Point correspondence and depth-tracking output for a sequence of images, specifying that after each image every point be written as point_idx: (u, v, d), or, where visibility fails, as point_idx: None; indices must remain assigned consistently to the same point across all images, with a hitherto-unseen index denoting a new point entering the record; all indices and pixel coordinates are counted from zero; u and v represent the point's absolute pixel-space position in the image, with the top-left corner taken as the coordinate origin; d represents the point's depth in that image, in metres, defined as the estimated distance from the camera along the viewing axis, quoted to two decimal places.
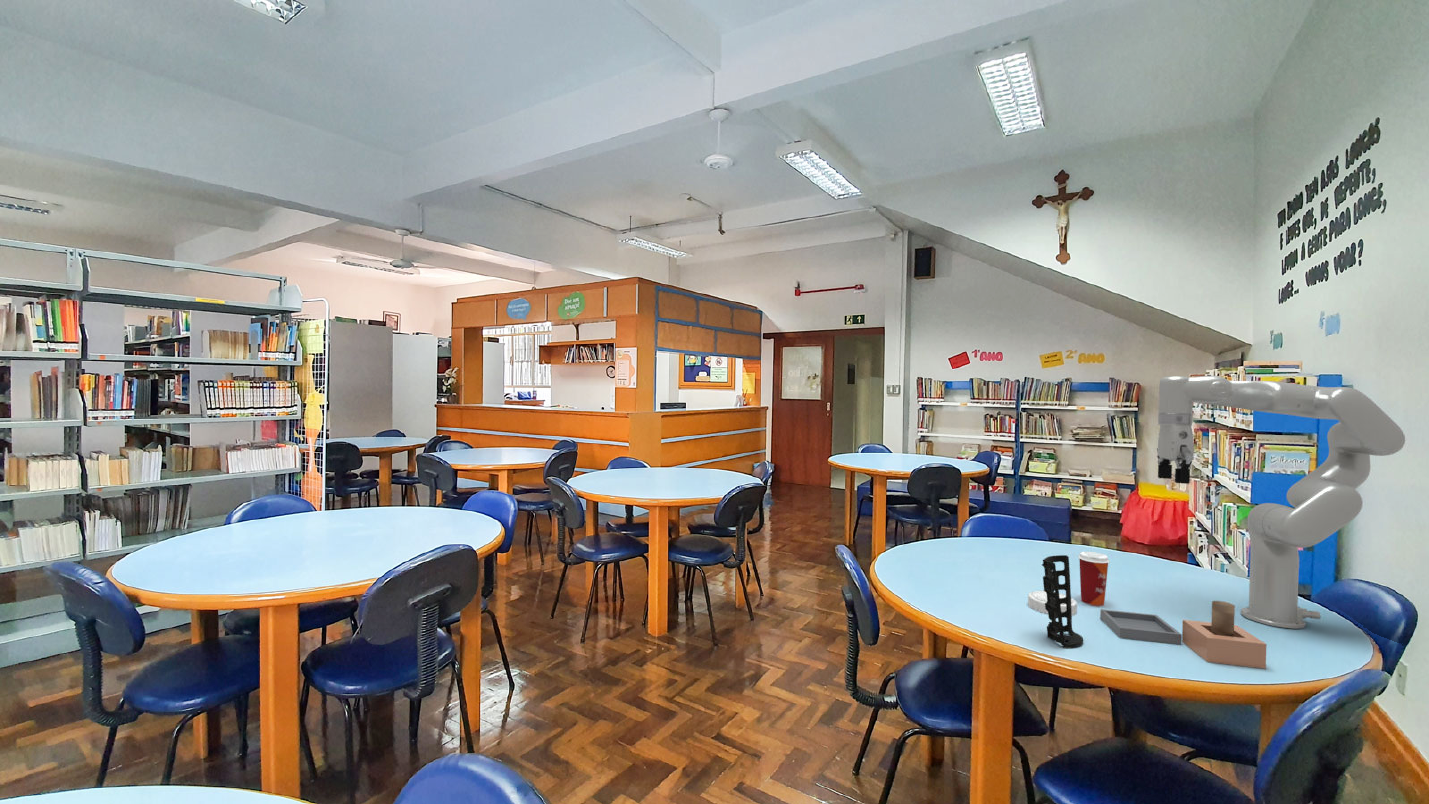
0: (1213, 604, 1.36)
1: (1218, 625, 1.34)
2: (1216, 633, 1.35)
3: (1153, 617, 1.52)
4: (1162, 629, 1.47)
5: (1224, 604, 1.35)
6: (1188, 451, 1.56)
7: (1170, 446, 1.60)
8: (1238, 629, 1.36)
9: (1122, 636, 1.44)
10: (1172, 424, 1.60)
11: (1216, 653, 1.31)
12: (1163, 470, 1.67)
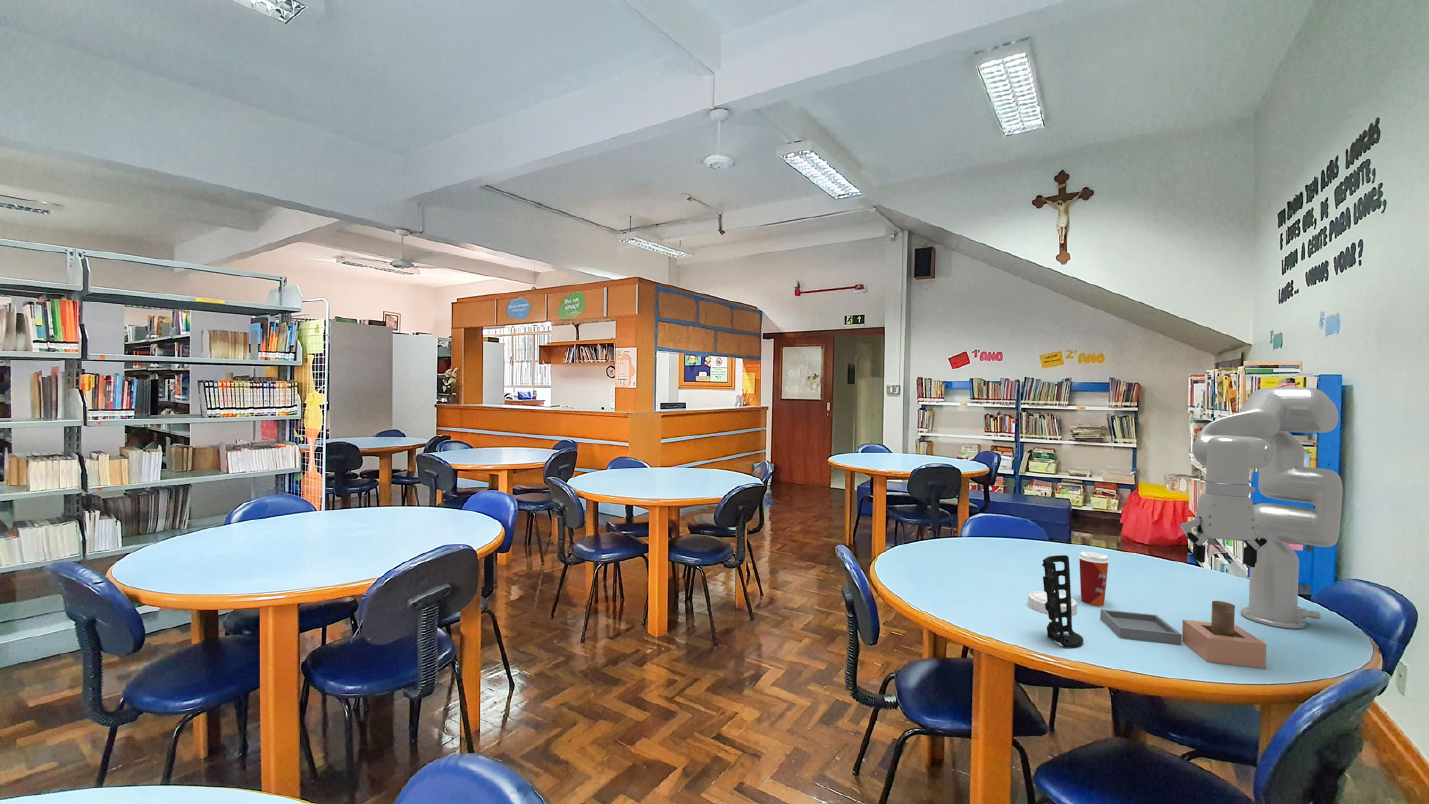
0: (1213, 604, 1.36)
1: (1218, 625, 1.34)
2: (1216, 633, 1.35)
3: (1153, 617, 1.52)
4: (1162, 629, 1.47)
5: (1224, 604, 1.35)
6: (1263, 527, 1.33)
7: (1248, 524, 1.32)
8: (1238, 629, 1.36)
9: (1122, 636, 1.44)
10: None
11: (1216, 653, 1.31)
12: None
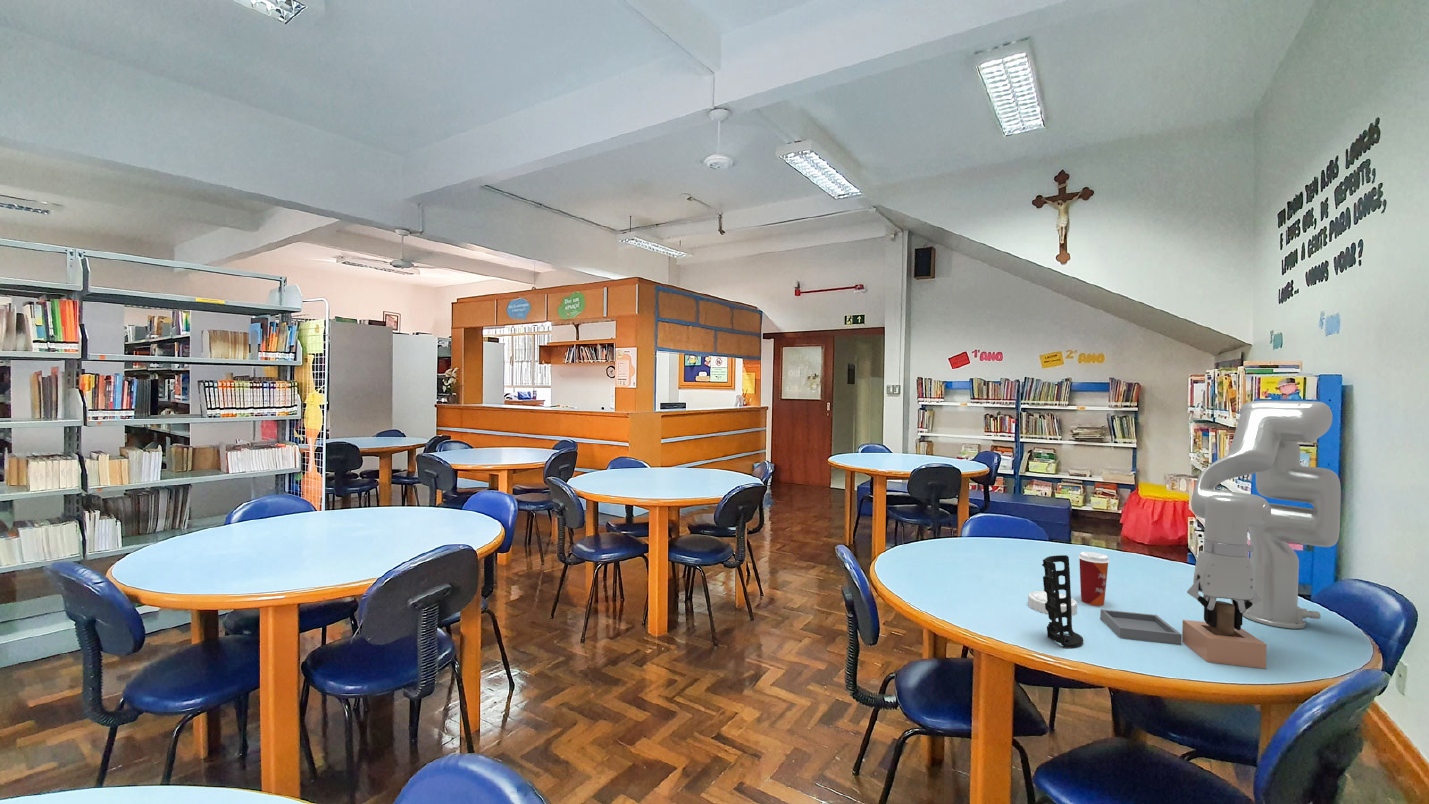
0: None
1: (1218, 625, 1.34)
2: (1216, 633, 1.35)
3: (1153, 617, 1.52)
4: (1162, 629, 1.47)
5: (1224, 604, 1.35)
6: None
7: (1246, 584, 1.32)
8: None
9: (1122, 636, 1.44)
10: (1246, 557, 1.32)
11: (1216, 653, 1.31)
12: None
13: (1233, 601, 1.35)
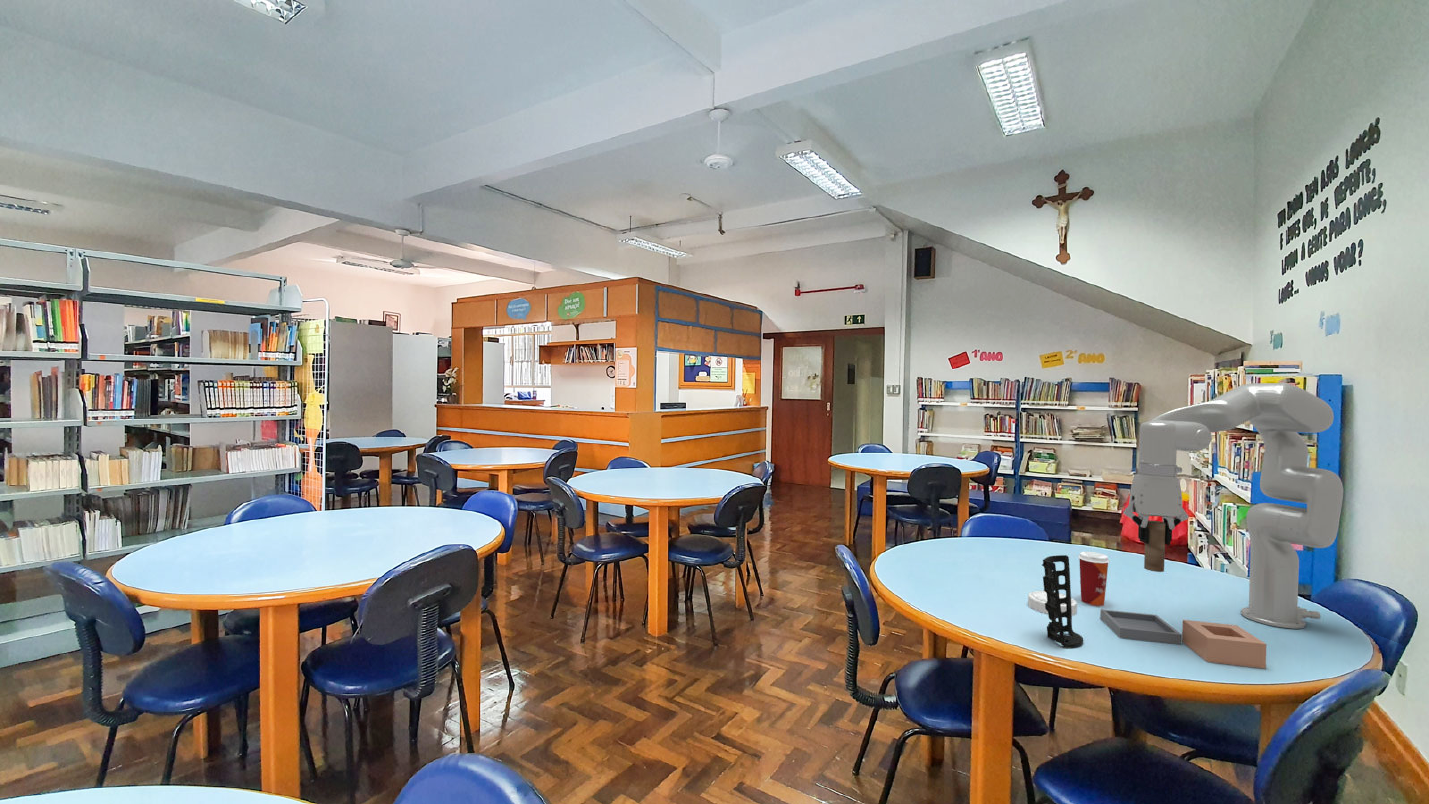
0: None
1: (1151, 541, 1.45)
2: (1149, 549, 1.45)
3: (1153, 617, 1.52)
4: (1162, 629, 1.47)
5: (1156, 522, 1.45)
6: None
7: (1175, 501, 1.43)
8: (1238, 629, 1.36)
9: (1122, 636, 1.44)
10: (1175, 477, 1.43)
11: (1216, 653, 1.31)
12: None
13: (1164, 519, 1.46)
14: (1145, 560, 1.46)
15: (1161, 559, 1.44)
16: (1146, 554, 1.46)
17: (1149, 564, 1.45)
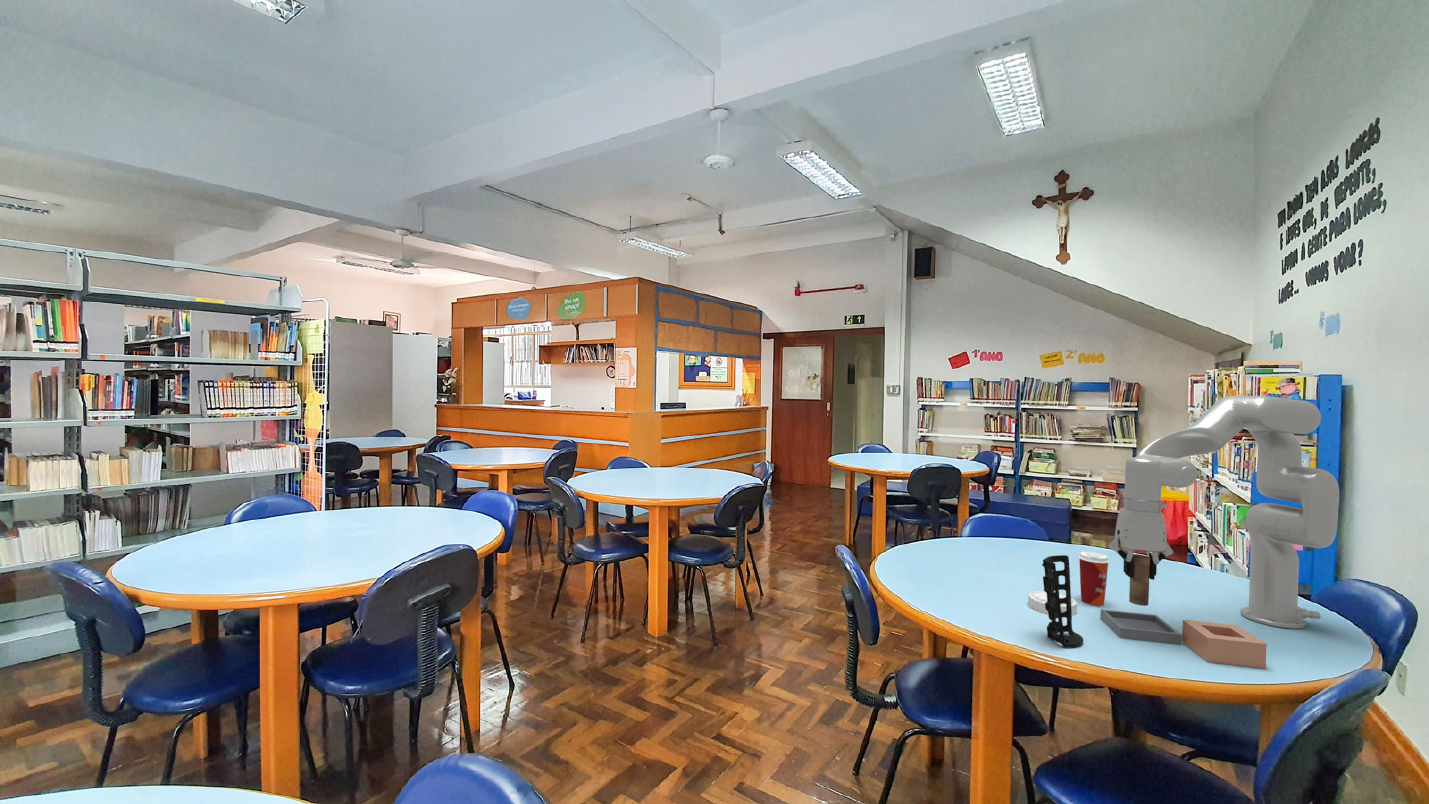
0: None
1: (1135, 575, 1.47)
2: (1133, 583, 1.48)
3: (1153, 617, 1.52)
4: (1162, 629, 1.47)
5: (1141, 556, 1.48)
6: None
7: (1159, 537, 1.45)
8: (1238, 629, 1.36)
9: (1122, 636, 1.44)
10: (1160, 512, 1.45)
11: (1216, 653, 1.31)
12: None
13: (1149, 554, 1.48)
14: (1130, 593, 1.49)
15: (1145, 592, 1.46)
16: (1131, 587, 1.48)
17: (1133, 597, 1.47)
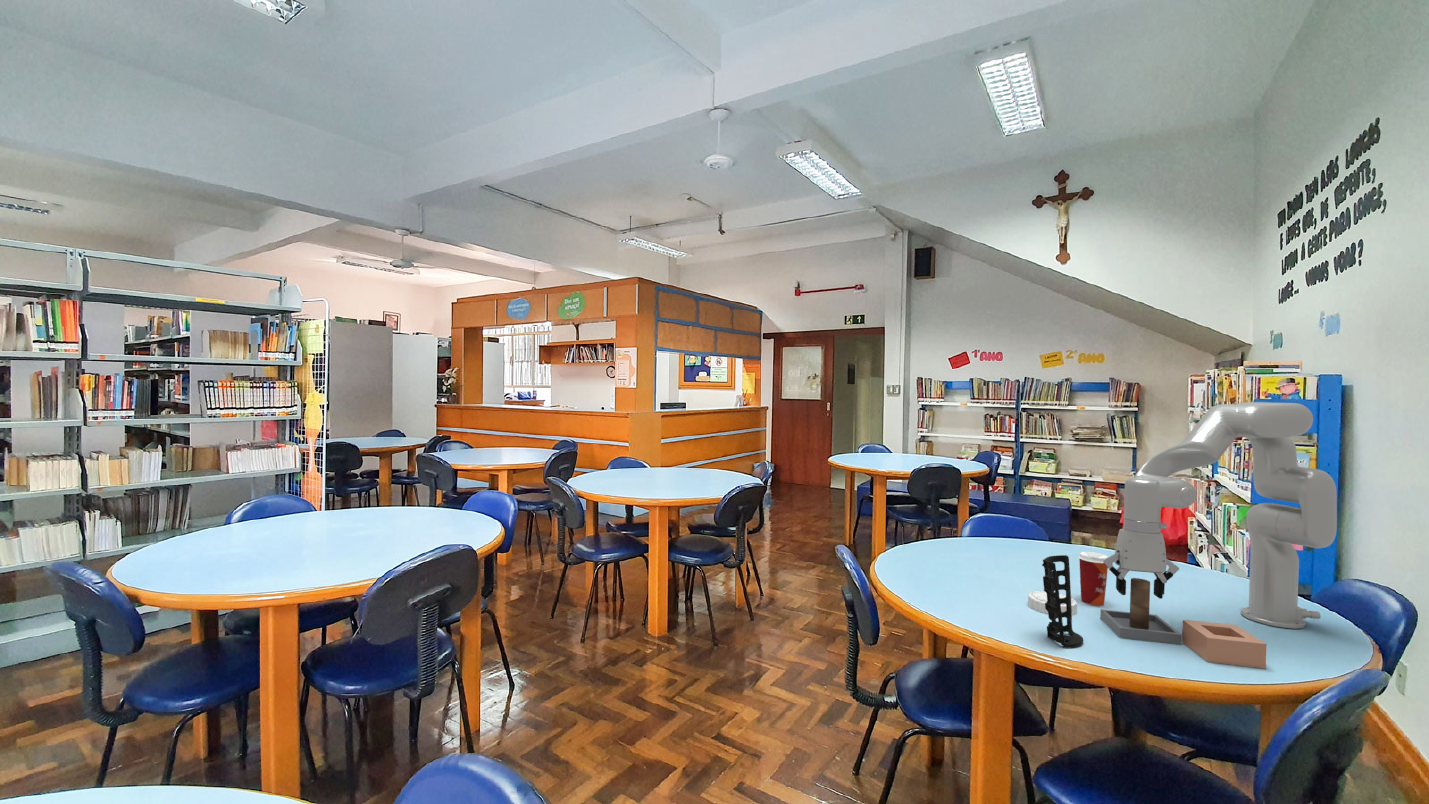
0: (1131, 581, 1.49)
1: (1135, 600, 1.47)
2: (1133, 607, 1.48)
3: (1153, 617, 1.52)
4: (1162, 629, 1.47)
5: (1141, 581, 1.48)
6: (1172, 563, 1.46)
7: (1159, 558, 1.45)
8: (1238, 629, 1.36)
9: (1122, 636, 1.44)
10: (1159, 533, 1.45)
11: (1216, 653, 1.31)
12: None
13: (1155, 573, 1.48)
14: (1130, 618, 1.49)
15: (1145, 617, 1.46)
16: (1131, 612, 1.48)
17: (1134, 621, 1.48)
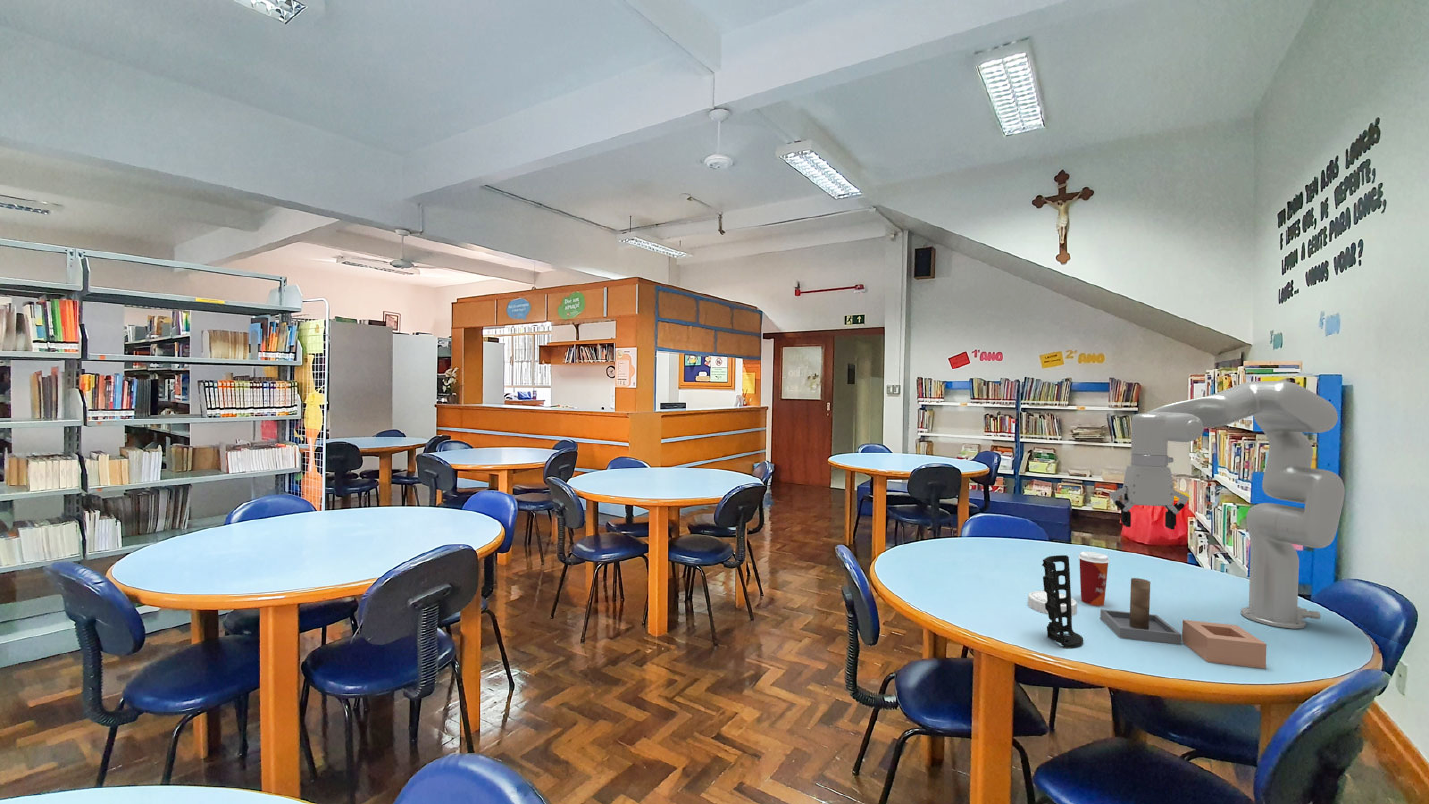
0: (1131, 581, 1.49)
1: (1135, 600, 1.47)
2: (1133, 607, 1.48)
3: (1153, 617, 1.52)
4: (1162, 629, 1.47)
5: (1141, 581, 1.48)
6: None
7: (1167, 491, 1.46)
8: (1238, 629, 1.36)
9: (1122, 636, 1.44)
10: (1166, 467, 1.47)
11: (1216, 653, 1.31)
12: None
13: (1166, 506, 1.49)
14: (1130, 618, 1.49)
15: (1145, 617, 1.46)
16: (1131, 612, 1.48)
17: (1134, 621, 1.48)
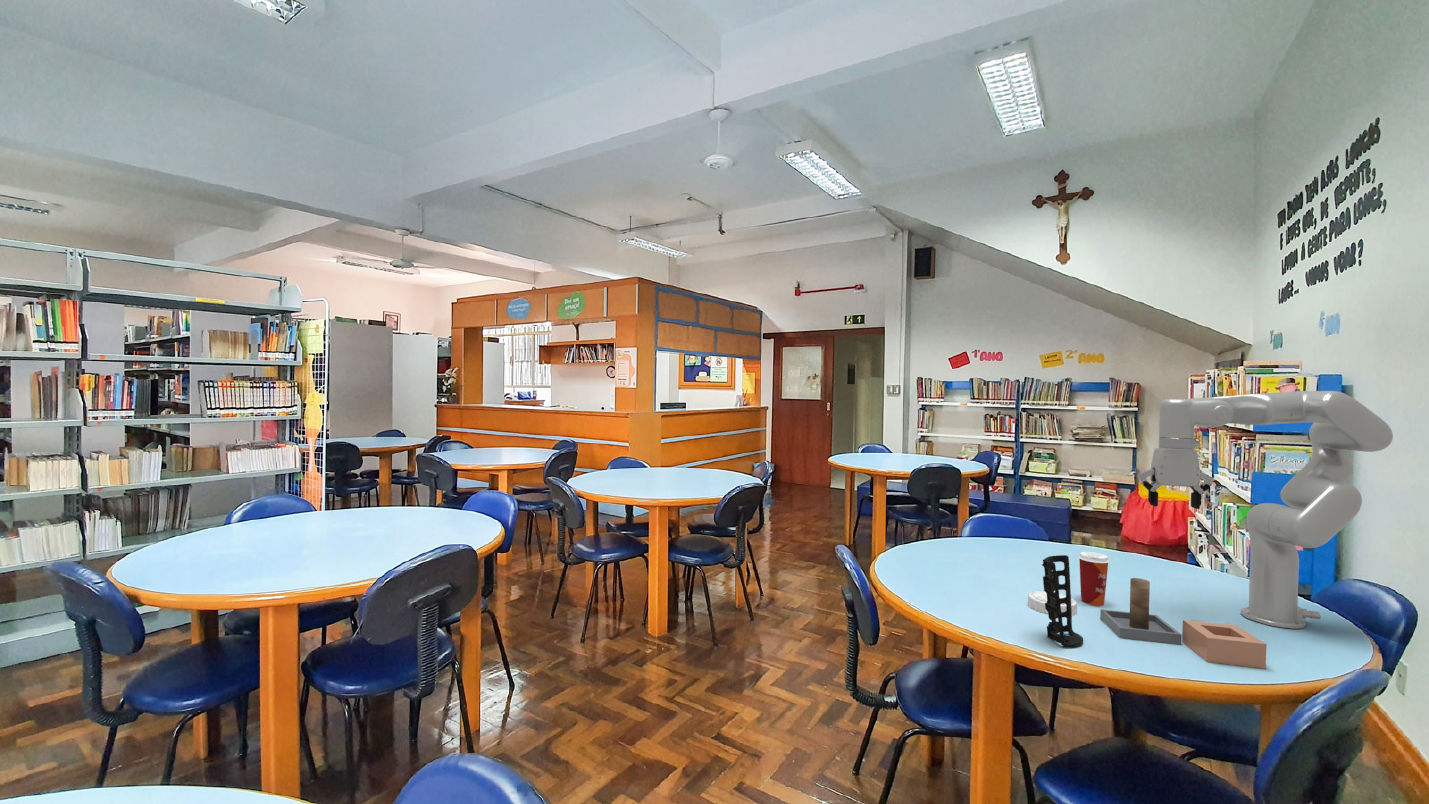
0: (1131, 581, 1.49)
1: (1135, 600, 1.47)
2: (1133, 607, 1.48)
3: (1153, 617, 1.52)
4: (1162, 629, 1.47)
5: (1140, 581, 1.48)
6: (1206, 475, 1.56)
7: (1193, 472, 1.55)
8: (1238, 629, 1.36)
9: (1122, 636, 1.44)
10: (1193, 449, 1.55)
11: (1216, 653, 1.31)
12: None
13: (1191, 487, 1.57)
14: (1130, 618, 1.49)
15: (1145, 617, 1.46)
16: (1131, 612, 1.48)
17: (1134, 621, 1.48)
